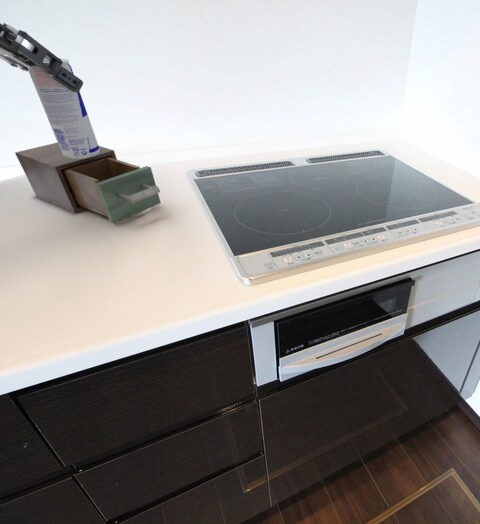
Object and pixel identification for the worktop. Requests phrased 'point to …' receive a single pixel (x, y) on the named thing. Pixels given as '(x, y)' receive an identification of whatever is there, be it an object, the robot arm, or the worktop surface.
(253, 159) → the worktop surface
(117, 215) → the drawer
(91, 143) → the beverage can
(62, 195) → the cabinet
